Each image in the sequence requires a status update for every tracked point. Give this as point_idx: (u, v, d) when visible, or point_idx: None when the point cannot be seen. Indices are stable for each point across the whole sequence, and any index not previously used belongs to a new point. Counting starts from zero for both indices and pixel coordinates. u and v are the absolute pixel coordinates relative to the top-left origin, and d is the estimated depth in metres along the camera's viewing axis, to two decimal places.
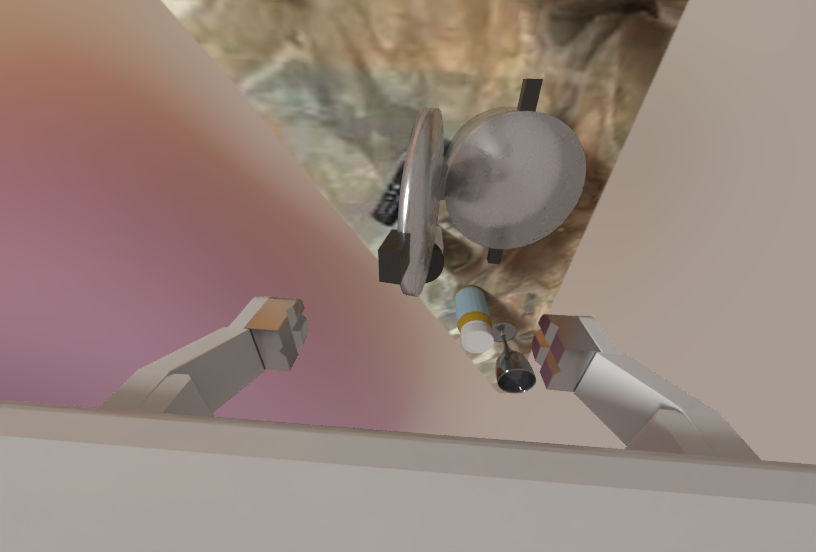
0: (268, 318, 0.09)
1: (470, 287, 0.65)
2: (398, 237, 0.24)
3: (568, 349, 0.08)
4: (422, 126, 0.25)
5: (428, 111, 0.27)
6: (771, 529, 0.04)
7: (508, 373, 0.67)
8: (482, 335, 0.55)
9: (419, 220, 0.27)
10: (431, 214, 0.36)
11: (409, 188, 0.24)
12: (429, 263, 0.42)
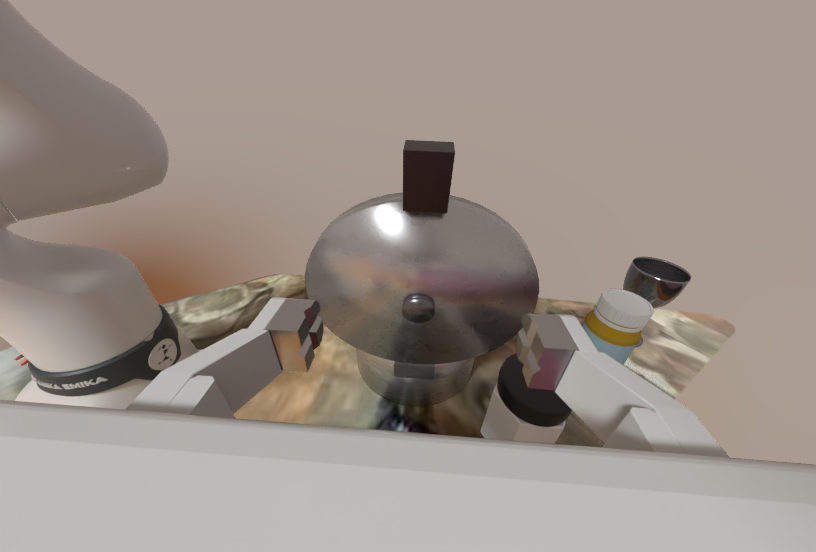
0: (287, 319, 0.08)
1: None
2: None
3: (547, 348, 0.08)
4: None
5: None
6: (771, 529, 0.04)
7: None
8: (611, 298, 0.41)
9: None
10: None
11: (356, 208, 0.21)
12: None
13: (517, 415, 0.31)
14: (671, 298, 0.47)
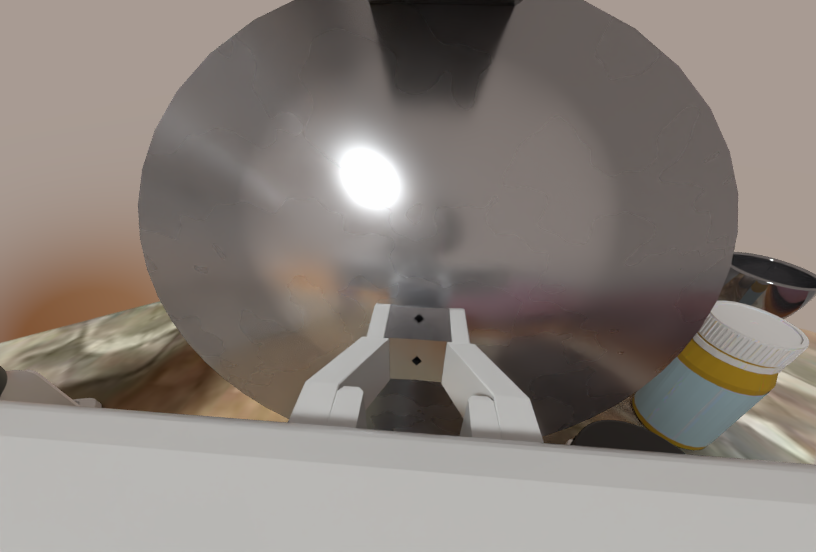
0: (402, 327, 0.08)
1: (642, 414, 0.32)
2: None
3: (421, 339, 0.08)
4: None
5: None
6: (771, 529, 0.04)
7: None
8: (726, 317, 0.25)
9: None
10: None
11: None
12: None
13: None
14: (792, 312, 0.31)
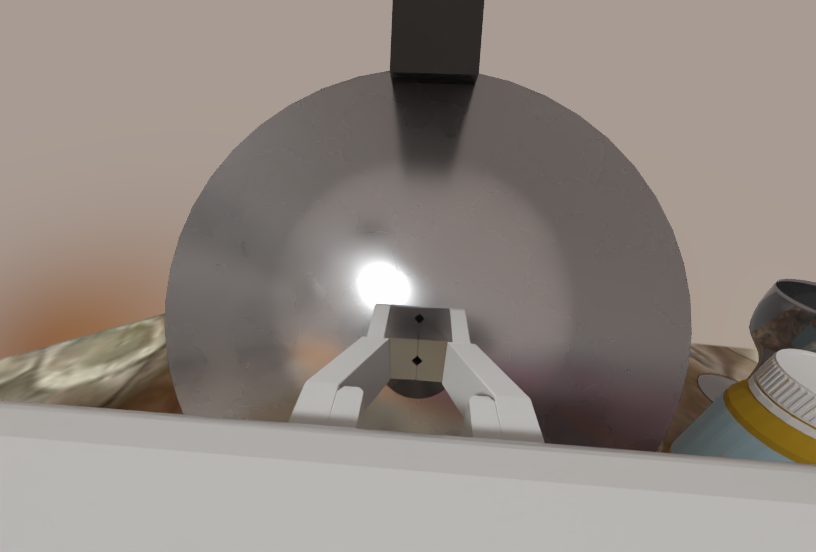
0: (402, 327, 0.08)
1: None
2: None
3: (422, 339, 0.08)
4: None
5: None
6: (771, 529, 0.04)
7: None
8: (802, 374, 0.20)
9: None
10: None
11: None
12: None
13: None
14: None
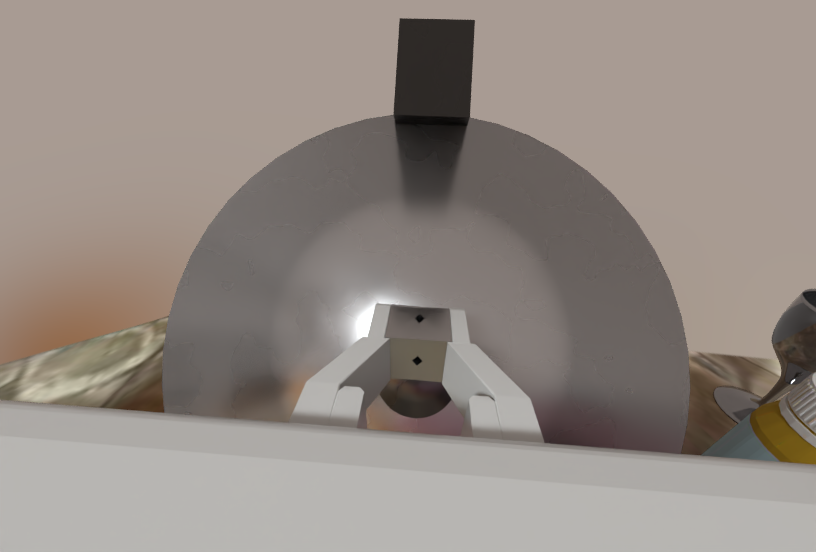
0: (402, 327, 0.08)
1: None
2: None
3: (422, 339, 0.08)
4: None
5: None
6: (771, 529, 0.04)
7: None
8: None
9: None
10: None
11: None
12: None
13: None
14: None
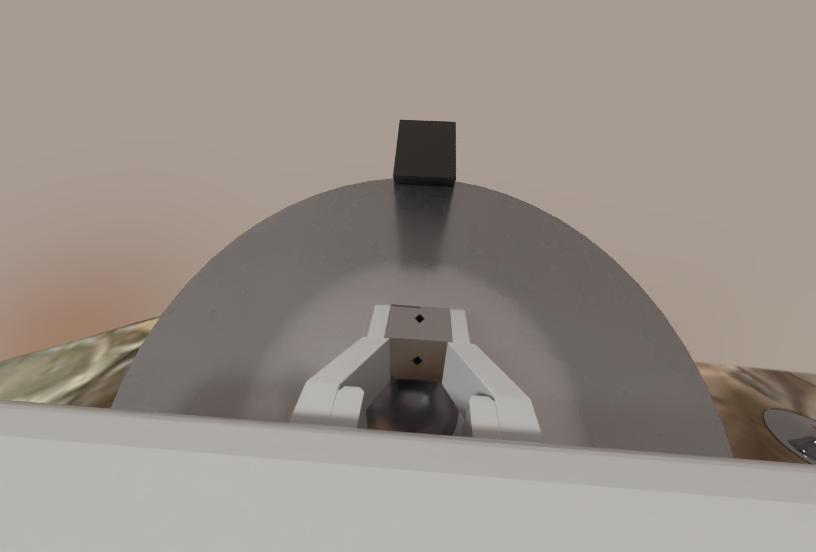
0: (402, 327, 0.08)
1: None
2: None
3: (422, 340, 0.08)
4: None
5: None
6: (771, 529, 0.04)
7: None
8: None
9: None
10: None
11: None
12: None
13: None
14: None
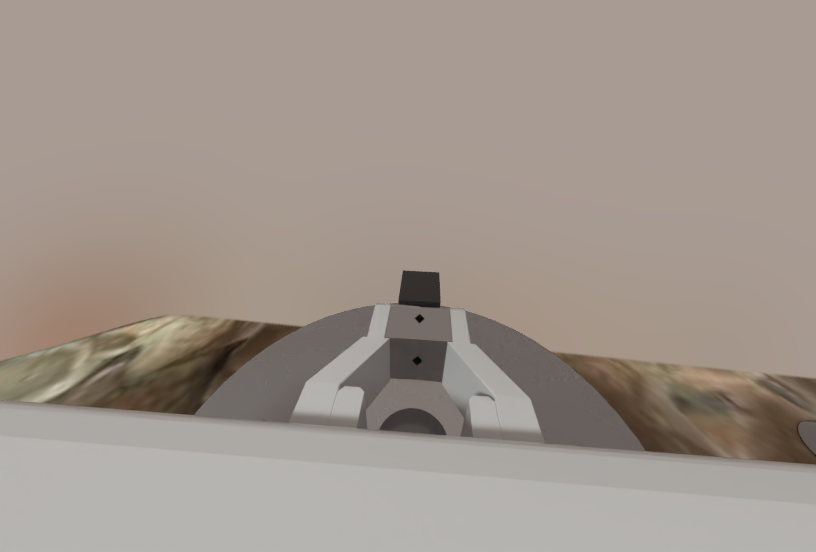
0: (402, 327, 0.08)
1: None
2: None
3: (422, 340, 0.08)
4: None
5: None
6: (771, 529, 0.04)
7: None
8: None
9: None
10: None
11: None
12: None
13: None
14: None
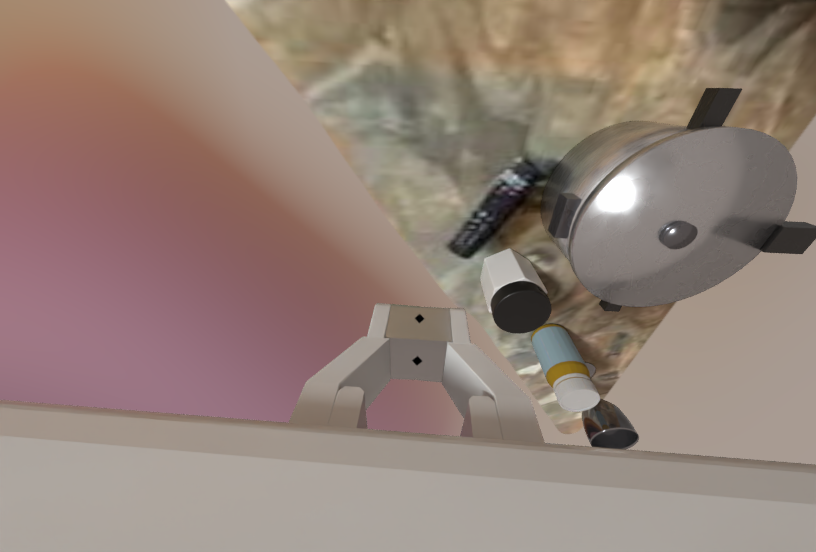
0: (402, 327, 0.08)
1: (553, 326, 0.56)
2: (789, 224, 0.31)
3: (422, 339, 0.08)
4: None
5: None
6: (771, 529, 0.04)
7: None
8: (587, 393, 0.46)
9: None
10: None
11: None
12: None
13: (500, 289, 0.42)
14: (583, 424, 0.56)
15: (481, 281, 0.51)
